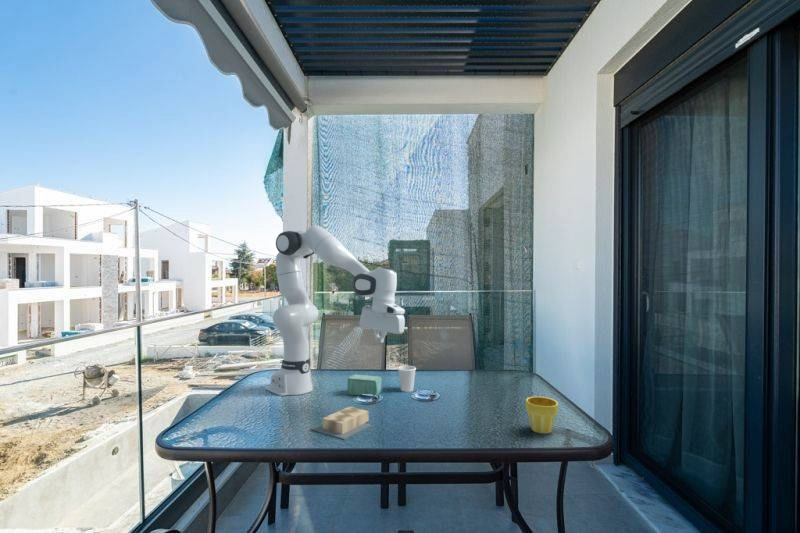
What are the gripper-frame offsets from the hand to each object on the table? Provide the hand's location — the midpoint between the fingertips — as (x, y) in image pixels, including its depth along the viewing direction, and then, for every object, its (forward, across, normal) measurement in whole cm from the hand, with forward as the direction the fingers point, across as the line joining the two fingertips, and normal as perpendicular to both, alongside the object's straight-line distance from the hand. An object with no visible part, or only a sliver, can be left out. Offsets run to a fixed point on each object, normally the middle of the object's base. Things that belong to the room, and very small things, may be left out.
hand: (379, 342), depth 163 cm
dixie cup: (+24, -2, +27) cm, 36 cm away
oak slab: (+25, +4, -13) cm, 28 cm away
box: (+26, -14, +12) cm, 32 cm away
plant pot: (+20, +62, +14) cm, 66 cm away
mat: (+28, +4, -22) cm, 35 cm away
